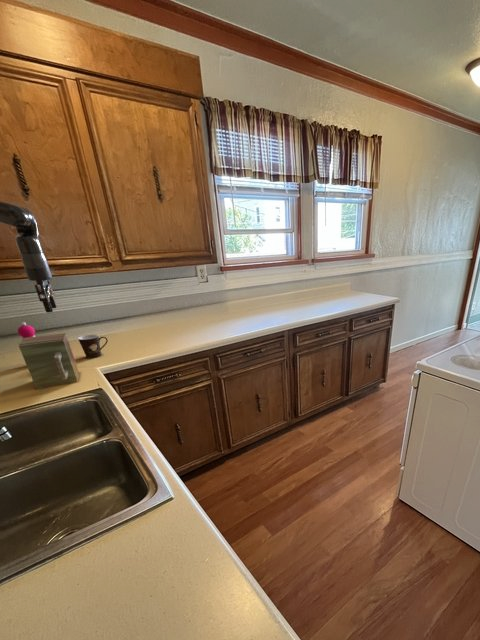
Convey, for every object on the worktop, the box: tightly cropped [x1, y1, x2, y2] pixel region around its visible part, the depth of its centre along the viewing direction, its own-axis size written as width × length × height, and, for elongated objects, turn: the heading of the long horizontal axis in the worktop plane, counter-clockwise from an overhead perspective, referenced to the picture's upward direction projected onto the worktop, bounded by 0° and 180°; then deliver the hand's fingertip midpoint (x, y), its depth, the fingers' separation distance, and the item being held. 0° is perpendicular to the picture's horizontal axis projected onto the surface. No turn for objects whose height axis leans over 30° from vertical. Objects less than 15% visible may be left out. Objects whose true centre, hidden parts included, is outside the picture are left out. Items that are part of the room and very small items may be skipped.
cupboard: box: [18, 332, 80, 381], centre depth 132 cm, size 10×14×18 cm
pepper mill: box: [17, 321, 36, 341], centre depth 148 cm, size 7×7×20 cm
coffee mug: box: [77, 334, 108, 359], centre depth 161 cm, size 12×9×10 cm
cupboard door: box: [18, 340, 79, 390], centre depth 125 cm, size 8×14×18 cm, turn 119°
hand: (51, 310), depth 130 cm, fingers open, 8 cm apart
